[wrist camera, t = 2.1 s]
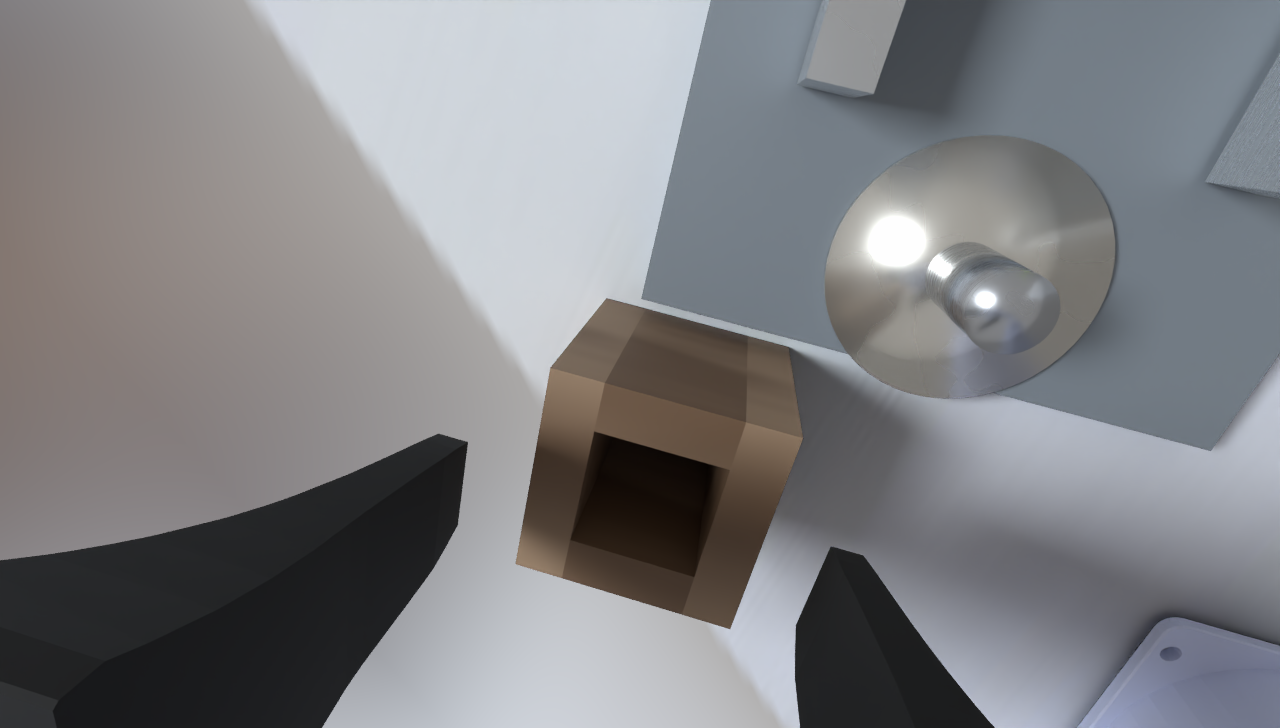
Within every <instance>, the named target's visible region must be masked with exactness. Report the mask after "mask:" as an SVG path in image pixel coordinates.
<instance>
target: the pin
mask: <svg viewBox="0 0 1280 728" xmlns="http://www.w3.org/2000/svg"><path fill="white" fill-rule="evenodd" d="M1114 262H1115V236H1114V228H1113V223H1112V219H1111V216H1110V213H1109V209H1108V206H1107V204H1106V202H1105V200H1104V198H1103V196H1102V194H1101V192H1100V191H1099V189H1098V188H1097V187H1096V185H1095V184H1094V182H1093V181H1092V180H1091V178H1090V177H1089V176H1088V175H1087V174H1086V173H1085V172H1084V171H1083V170H1082V169H1081V168H1080V167H1079V166H1078V165H1077V164H1076V163H1074V162H1073V161H1071V160H1070V159H1068V158H1067V157H1066V156H1064V155H1063V154H1061V153H1059V152H1057V151H1055V150H1053V149H1051V148H1049V147H1047V146H1045V145H1042V144H1039V143H1036V142H1033V141H1030V140H1026V139H1021V138H1015V137H1009V136H997V135H978V136H968V137H960V138H956V139H951V140H947V141H942V142H939V143H937V144H934V145H931V146H928V147H925V148H922V149H920V150H918V151H916V152H914V153H912V154H910V155H908V156H906V157H904V158H903V159H901V160H900V161H898V162H897V163H895V164H893V165H892V166H890V167H889V168H887V169H886V170H885V171H884V172H882V173H881V174H880V175H879V176H878V177H876V178H875V179H874V180H873V181H872V182H871V183H870V184H869V185H868V186H867V187H866V188H865V189H864V190H863V191H862V192H861V193H860V194H859V195H858V196H857V198H856V199H855V200H854V202H853V203H852V204H851V206H850V207H849V208H848V210H847V211H846V213H845V215H844V216H843V218H842V220H841V222H840V223H839V225H838V227H837V229H836V232H835V234H834V236H833V239H832V241H831V244H830V248H829V251H828V255H827V258H826V265H825V272H824V295H825V302H826V308H827V312H828V315H829V318H830V322H831V324H832V327H833V329H834V331H835V333H836V335H837V338H838V339H839V341H840V342H841V344H842V346H843V347H844V349H845V350H846V352H847V353H848V354H849V355H850V356H851V357H852V359H853V360H854V361H855V362H856V363H857V364H858V365H859V366H860V367H862V368H863V369H864V370H865V371H866V372H867V373H869V374H870V375H872V376H873V377H875V378H876V379H878V380H879V381H881V382H883V383H885V384H887V385H889V386H891V387H893V388H896V389H899V390H901V391H904V392H907V393H910V394H915V395H920V396H925V397H933V398H966V397H974V396H980V395H984V394H989V393H993V392H997V391H1000V390H1002V389H1005V388H1008V387H1011V386H1014V385H1016V384H1018V383H1020V382H1022V381H1024V380H1026V379H1028V378H1030V377H1032V376H1034V375H1036V374H1037V373H1039V372H1040V371H1042V370H1044V369H1045V368H1047V367H1048V366H1050V365H1051V364H1052V363H1053V362H1055V361H1056V360H1057V359H1059V358H1060V357H1061V356H1062V355H1063V354H1064V353H1066V352H1067V351H1068V350H1069V349H1070V348H1071V347H1072V346H1073V345H1074V344H1075V343H1076V342H1077V341H1078V339H1079V338H1080V337H1081V336H1082V334H1083V333H1084V332H1085V331H1086V330H1087V328H1088V327H1089V325H1090V324H1091V322H1092V321H1093V319H1094V318H1095V316H1096V314H1097V313H1098V311H1099V309H1100V307H1101V305H1102V303H1103V301H1104V299H1105V296H1106V294H1107V291H1108V288H1109V285H1110V282H1111V278H1112V273H1113V268H1114Z"/></svg>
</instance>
